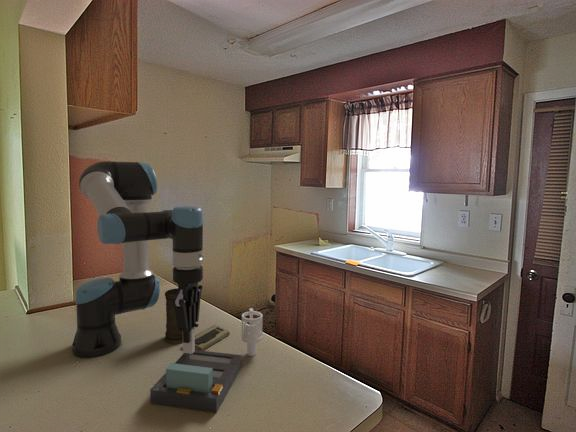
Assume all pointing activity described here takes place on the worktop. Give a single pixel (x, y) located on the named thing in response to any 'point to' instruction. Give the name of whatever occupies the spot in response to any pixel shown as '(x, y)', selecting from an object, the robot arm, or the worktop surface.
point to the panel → (189, 377)
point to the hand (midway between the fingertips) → (188, 351)
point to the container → (172, 319)
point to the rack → (223, 379)
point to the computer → (210, 337)
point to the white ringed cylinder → (252, 330)
